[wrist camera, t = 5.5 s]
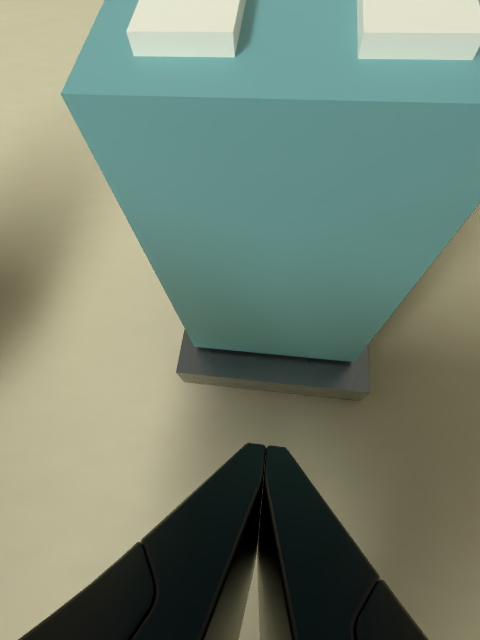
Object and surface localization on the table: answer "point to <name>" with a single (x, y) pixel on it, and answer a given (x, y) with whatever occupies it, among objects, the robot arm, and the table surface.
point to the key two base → (274, 372)
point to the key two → (285, 156)
